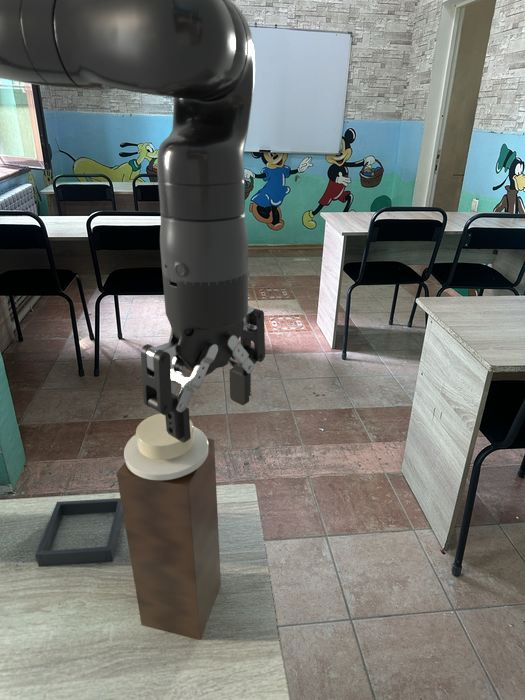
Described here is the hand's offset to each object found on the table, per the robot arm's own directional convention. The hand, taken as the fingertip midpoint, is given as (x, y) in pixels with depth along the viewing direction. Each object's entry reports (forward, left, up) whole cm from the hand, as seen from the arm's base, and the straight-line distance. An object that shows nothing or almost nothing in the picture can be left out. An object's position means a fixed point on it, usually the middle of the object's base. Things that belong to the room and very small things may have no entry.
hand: (211, 418), depth 49 cm
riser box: (-5, 0, -31) cm, 32 cm away
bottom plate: (-5, 0, -5) cm, 7 cm away
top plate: (-5, 0, -4) cm, 7 cm away
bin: (-24, +7, -31) cm, 40 cm away
